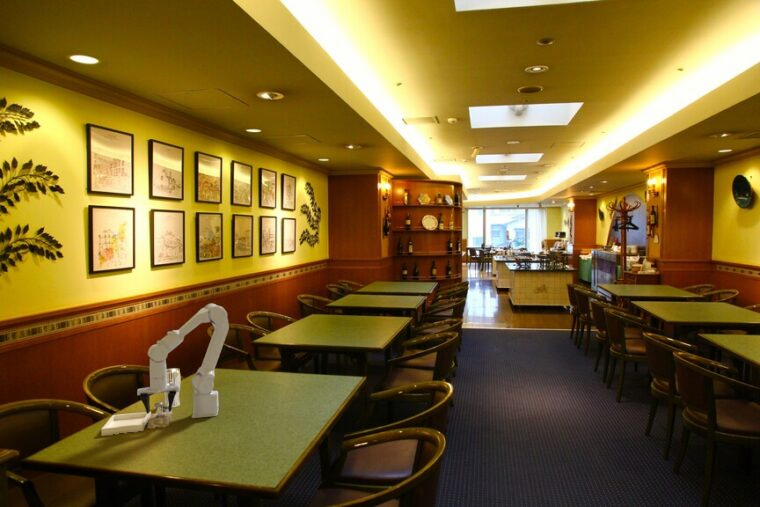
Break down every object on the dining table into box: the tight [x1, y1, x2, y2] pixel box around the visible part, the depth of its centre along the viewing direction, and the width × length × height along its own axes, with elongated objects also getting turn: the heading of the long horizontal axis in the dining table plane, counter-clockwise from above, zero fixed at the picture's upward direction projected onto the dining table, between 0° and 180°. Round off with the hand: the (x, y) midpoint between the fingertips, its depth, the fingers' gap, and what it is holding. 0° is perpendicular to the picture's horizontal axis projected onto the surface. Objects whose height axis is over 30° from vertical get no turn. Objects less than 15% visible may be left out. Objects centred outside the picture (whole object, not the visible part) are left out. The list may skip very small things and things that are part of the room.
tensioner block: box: [147, 408, 173, 429], centre depth 183 cm, size 7×14×3 cm, turn 14°
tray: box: [100, 410, 152, 437], centre depth 178 cm, size 14×14×2 cm
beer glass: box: [164, 367, 182, 409], centre depth 199 cm, size 7×7×15 cm
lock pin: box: [154, 401, 165, 418], centre depth 180 cm, size 3×3×8 cm
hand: (159, 411), depth 180 cm, fingers open, 7 cm apart
